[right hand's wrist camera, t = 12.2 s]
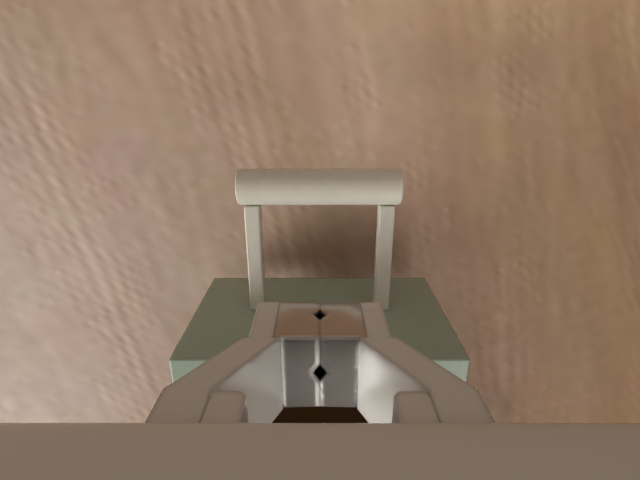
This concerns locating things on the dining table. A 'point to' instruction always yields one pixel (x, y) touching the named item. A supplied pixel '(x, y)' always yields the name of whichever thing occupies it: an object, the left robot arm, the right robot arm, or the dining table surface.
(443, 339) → the drawer
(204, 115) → the dining table surface
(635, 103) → the dining table surface
